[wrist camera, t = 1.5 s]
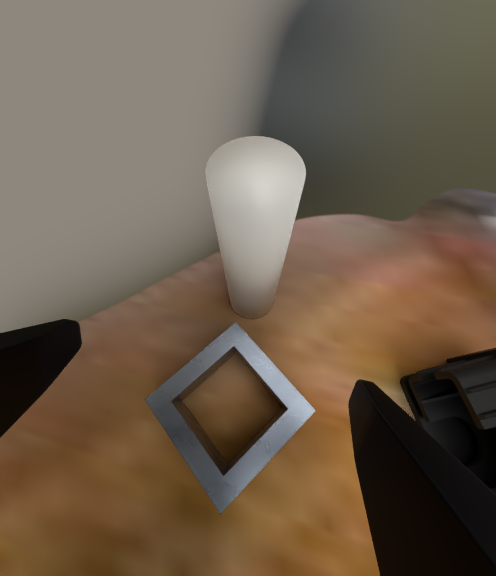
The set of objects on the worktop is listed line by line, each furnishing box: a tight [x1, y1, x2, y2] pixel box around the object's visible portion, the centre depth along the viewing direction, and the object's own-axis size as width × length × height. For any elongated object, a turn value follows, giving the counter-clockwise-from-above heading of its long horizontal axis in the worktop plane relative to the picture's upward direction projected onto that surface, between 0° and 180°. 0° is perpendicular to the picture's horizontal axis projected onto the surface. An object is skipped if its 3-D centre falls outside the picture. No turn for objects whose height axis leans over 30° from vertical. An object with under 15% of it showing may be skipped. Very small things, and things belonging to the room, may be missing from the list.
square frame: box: [145, 322, 315, 514], centre depth 18 cm, size 8×8×3 cm
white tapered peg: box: [205, 136, 306, 319], centre depth 16 cm, size 4×4×14 cm
